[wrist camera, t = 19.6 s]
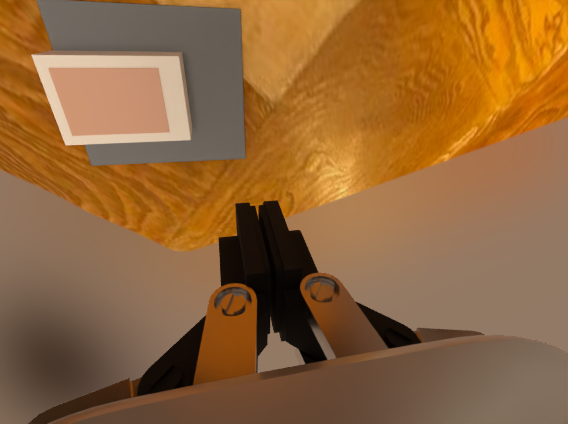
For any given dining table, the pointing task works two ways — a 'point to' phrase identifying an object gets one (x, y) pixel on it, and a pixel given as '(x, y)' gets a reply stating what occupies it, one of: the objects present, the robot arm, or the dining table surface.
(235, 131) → the mat
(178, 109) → the slab
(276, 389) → the robot arm
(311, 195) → the dining table surface
